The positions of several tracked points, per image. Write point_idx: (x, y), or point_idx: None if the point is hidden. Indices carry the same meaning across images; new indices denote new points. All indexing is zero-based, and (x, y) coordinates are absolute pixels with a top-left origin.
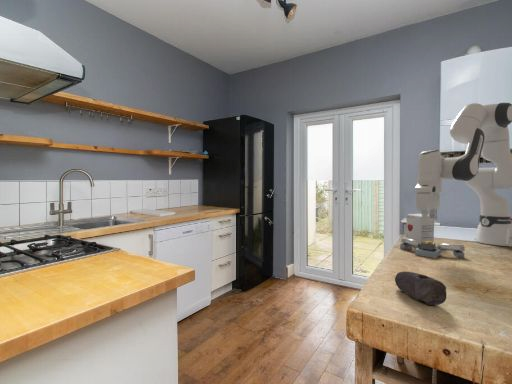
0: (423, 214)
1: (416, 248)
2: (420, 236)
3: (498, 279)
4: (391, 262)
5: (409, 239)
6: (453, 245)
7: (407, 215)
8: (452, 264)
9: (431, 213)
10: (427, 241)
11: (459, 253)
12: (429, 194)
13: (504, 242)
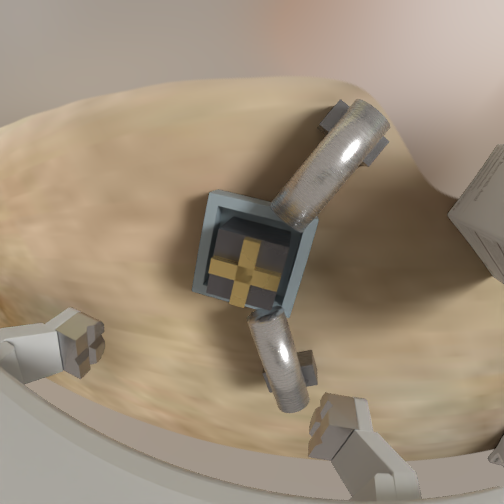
0: (16, 342)
1: (231, 198)
2: (476, 226)
3: (85, 388)
4: (47, 133)
5: (331, 151)
6: (272, 380)
7: None
8: (142, 326)
9: (351, 450)
10: (239, 271)
11: (264, 376)
12: None
13: (500, 452)
